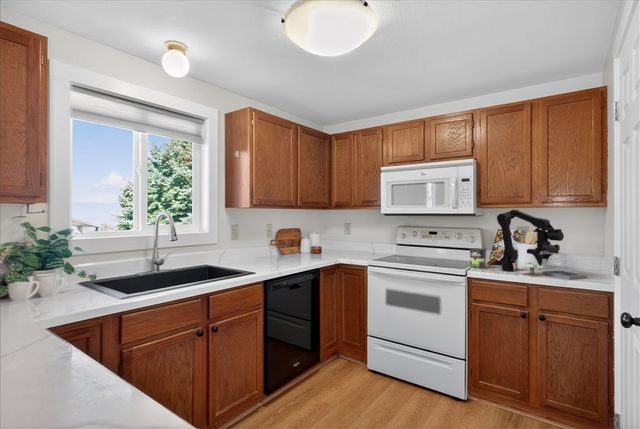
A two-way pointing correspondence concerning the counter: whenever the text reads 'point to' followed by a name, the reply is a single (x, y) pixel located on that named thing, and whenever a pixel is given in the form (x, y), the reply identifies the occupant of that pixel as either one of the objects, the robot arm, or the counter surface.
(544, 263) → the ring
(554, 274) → the tray
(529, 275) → the stake stand
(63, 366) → the counter surface
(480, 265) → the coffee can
